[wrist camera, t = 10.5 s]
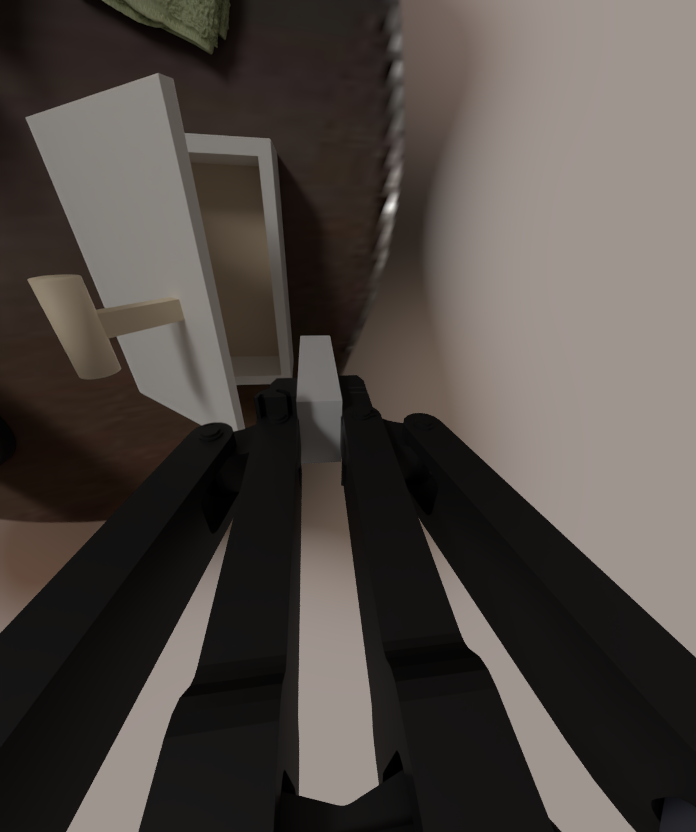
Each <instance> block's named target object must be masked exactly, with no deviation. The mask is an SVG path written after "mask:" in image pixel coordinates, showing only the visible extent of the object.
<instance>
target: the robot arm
mask: <svg viewBox="0 0 696 832" xmlns="http://www.w3.org/2000/svg"><path fill="white" fill-rule="evenodd" d="M254 402H255V408H256V414H257V423H256V425H254V426H252V427H249V428H246V429H242V430H238V431H234V432H233V429H232V427H231V426H230V425H228V424H226V423H222V422H213V423H208V424H204V425H202V426H200V427H197V428H196V429H194V430H193V431H192V432H191V433H190V434H189V435H188V436H187V437H186V438H185V439H184V440H183V441H182V442H181V443H180V444H179V445H178V446H177V447H176V448H175V449H174V451H173V452H172V453H171V454H170V455H169V456H168V457H167V458H166V459H165V460H164V461H163V462H162V463H161V464H160V465H159V466H158V467H157V468H156V470H155V471H154V472H153V473H152V474H151V475H150V476H149V477H148V478H147V479H146V480H145V481H144V482H143V483H142V484H141V485H140V486H139V487H138V489H137V490H136V491H135V492H134V493H133V494H132V495H131V496H130V497H129V498H128V499H127V500H126V501H125V502H124V503H123V504H122V505H121V506H120V507H119V509H118V510H117V511H116V512H115V513H114V514H113V515H112V516H111V517H110V518H109V519H108V520H107V521H106V522H105V524H103V525H102V527H101V528H100V529H99V530H98V531H97V532H96V533H95V534H94V535H93V536H92V537H91V538H90V539H89V540H88V541H87V542H86V543H85V545H83V547H82V548H81V549H80V550H79V551H78V552H77V553H76V554H75V555H74V556H73V557H72V558H71V559H70V560H69V561H68V562H67V563H66V564H65V566H64V567H63V568H62V569H61V570H60V571H59V572H58V573H57V574H56V575H55V576H54V577H53V578H52V579H51V580H50V581H49V583H48V584H47V585H46V586H45V587H44V588H43V589H42V590H41V591H40V592H39V593H38V594H37V595H36V596H35V597H34V598H33V599H32V600H31V601H30V602H29V603H28V605H27V606H26V607H25V608H24V609H23V610H22V611H21V612H20V613H19V614H18V615H17V616H16V617H15V618H14V620H13V621H11V623H10V624H9V625H8V626H7V627H6V628H5V629H4V630H3V631H2V632H1V633H0V832H66V831H67V829H68V827H69V825H70V824H71V822H72V820H73V818H74V816H75V814H76V812H77V810H78V809H79V807H80V805H81V803H82V801H83V799H84V797H85V795H86V793H87V792H88V790H89V788H90V786H91V784H92V782H93V780H94V778H95V776H96V775H97V773H98V771H99V769H100V767H101V765H102V763H103V762H104V760H105V758H106V756H107V754H108V752H109V750H110V748H111V746H112V745H113V743H114V741H115V739H116V737H117V735H118V733H119V731H120V730H121V728H122V726H123V724H124V722H125V720H126V718H127V716H128V715H129V713H130V711H131V709H132V707H133V705H134V703H135V701H136V699H137V697H138V695H139V694H140V692H141V690H142V688H143V686H144V684H145V683H146V681H147V679H148V677H149V675H150V673H151V671H152V670H153V668H154V666H155V664H156V662H157V660H158V658H159V656H160V654H161V653H162V651H163V649H164V647H165V645H166V643H167V641H168V639H169V638H170V636H171V634H172V632H173V630H174V628H175V626H176V624H177V623H178V621H179V619H180V617H181V615H182V613H183V611H184V609H185V608H186V606H187V604H188V602H189V600H190V598H191V596H192V594H193V593H194V591H195V589H196V587H197V585H198V583H199V581H200V579H201V577H202V576H203V574H204V572H205V570H206V568H207V566H208V564H209V562H210V561H211V559H212V557H213V555H214V553H215V551H216V549H217V547H218V546H219V544H220V542H221V540H222V538H223V536H224V534H225V532H226V530H227V529H228V527H229V525H230V523H231V521H232V519H233V522H232V527H231V530H230V535H229V539H228V543H227V547H226V552H225V555H224V560H223V564H222V568H221V572H220V576H219V580H218V584H217V588H216V592H215V597H214V601H213V605H212V609H211V613H210V617H209V622H208V625H207V630H206V634H205V638H204V642H203V646H202V650H201V655H200V659H199V663H198V667H197V670H196V673H195V677H194V679H193V681H192V683H191V686H190V687H189V688H188V689H187V690H186V691H185V692H184V694H183V695H182V696H181V697H180V698H179V701H178V703H177V705H176V707H175V709H174V711H173V713H172V716H171V719H170V722H169V725H168V728H167V731H166V734H165V737H164V740H163V744H162V748H161V751H160V755H159V759H158V762H157V766H156V770H155V773H154V777H153V781H152V785H151V788H150V792H149V795H148V799H147V803H146V807H145V810H144V814H143V817H142V821H141V825H140V828H139V832H561V831H560V830H559V829H558V827H557V826H556V825H555V824H554V823H553V822H552V821H551V820H550V819H549V818H548V815H547V812H546V810H545V808H544V805H543V802H542V800H541V797H540V795H539V792H538V790H537V787H536V785H535V782H534V780H533V777H532V775H531V772H530V770H529V767H528V765H527V762H526V760H525V757H524V755H523V752H522V750H521V747H520V745H519V742H518V740H517V737H516V735H515V732H514V730H513V727H512V725H511V722H510V720H509V718H508V715H507V712H506V710H505V707H504V705H503V702H502V700H501V698H500V695H499V692H498V690H497V687H496V685H495V683H494V681H493V679H492V677H491V675H490V672H489V670H488V669H487V667H486V665H485V664H484V662H483V661H482V660H481V658H480V657H479V656H478V655H477V654H475V653H474V652H473V651H471V650H470V649H469V648H468V647H467V645H466V644H465V642H464V640H463V638H462V636H461V633H460V631H459V628H458V625H457V622H456V620H455V617H454V614H453V611H452V609H451V606H450V604H449V601H448V598H447V595H446V592H445V590H444V587H443V584H442V581H441V579H440V576H439V573H438V570H437V568H436V565H435V562H434V560H433V557H432V554H431V551H430V548H429V546H428V543H427V540H426V537H425V535H424V532H423V529H422V527H421V524H420V521H421V522H422V524H423V525H424V527H425V528H426V530H427V531H428V532H429V534H430V535H431V537H432V538H433V540H434V542H435V543H436V545H437V546H438V548H439V549H440V551H441V552H442V554H443V555H444V557H445V558H446V559H447V561H448V563H449V564H450V566H451V567H452V569H453V570H454V572H455V573H456V575H457V576H458V578H459V579H460V581H461V582H462V584H463V585H464V587H465V588H466V590H467V591H468V593H469V594H470V596H471V598H472V599H473V600H474V602H475V604H476V605H477V607H478V608H479V610H480V611H481V613H482V614H483V616H484V617H485V619H486V620H487V622H488V623H489V625H490V626H491V628H492V629H493V631H494V632H495V634H496V635H497V637H498V638H499V640H500V641H501V643H502V644H503V646H504V647H505V649H506V650H507V652H508V653H509V655H510V657H511V658H512V660H513V661H514V663H515V664H516V665H517V667H518V668H519V670H520V672H521V673H522V675H523V676H524V678H525V679H526V681H527V682H528V684H529V685H530V687H531V688H532V690H533V691H534V693H535V694H536V696H537V697H538V699H539V700H540V702H541V703H542V705H543V706H544V708H545V709H546V711H547V712H548V714H549V715H550V717H551V718H552V720H553V721H554V723H555V724H556V726H557V727H558V729H559V730H560V732H561V734H562V735H563V736H564V738H565V740H566V741H567V742H568V744H569V745H570V747H571V748H572V750H573V751H574V752H575V754H576V755H577V756H578V758H579V759H580V761H581V762H582V764H583V765H584V767H585V768H586V769H587V771H588V772H589V774H590V775H591V776H592V778H593V779H594V781H595V782H596V783H597V784H598V786H599V787H600V788H601V789H602V790H603V792H604V793H605V794H606V796H607V797H608V798H609V799H610V801H611V802H612V803H613V804H614V806H615V807H616V808H617V809H618V811H619V812H620V813H621V814H622V816H623V817H624V818H625V819H626V821H627V822H628V823H629V824H630V825H631V826H632V827H633V828H634V830H635V831H636V832H696V658H695V656H693V655H692V654H691V653H690V652H689V651H688V650H687V649H686V648H685V647H684V646H683V645H682V644H680V643H679V642H678V641H677V640H676V639H675V638H674V637H673V636H672V635H671V634H670V633H669V632H667V631H666V630H665V629H664V628H663V627H662V626H661V625H660V624H659V623H658V622H657V621H656V620H655V619H654V618H652V617H651V616H650V615H649V614H648V613H647V612H646V611H645V610H644V609H643V608H642V607H641V606H640V605H638V604H637V603H636V602H635V601H634V600H633V599H632V598H631V597H630V596H629V595H628V594H627V593H625V592H624V591H623V590H622V589H621V588H620V587H619V586H618V585H617V584H616V583H615V582H614V581H613V580H611V579H610V578H609V577H608V576H607V575H606V574H605V573H604V572H603V571H602V570H601V569H600V568H598V567H597V566H596V565H595V564H594V563H593V562H592V561H591V560H590V559H589V558H588V557H586V555H585V554H583V553H582V552H581V551H580V550H579V549H578V548H577V547H576V546H575V545H574V544H572V542H570V541H569V540H568V539H567V538H566V537H565V536H564V535H563V534H562V533H561V532H560V531H559V530H558V529H556V528H555V527H554V526H553V525H552V524H551V523H550V522H549V521H548V520H547V519H546V518H545V517H544V516H542V515H541V514H540V513H539V512H538V511H537V510H536V509H535V508H534V507H533V506H532V505H530V503H528V502H527V501H526V500H525V499H524V498H523V497H522V496H521V495H520V494H519V493H518V492H517V491H515V490H514V489H513V488H512V487H511V486H510V485H509V484H508V483H507V482H506V481H505V480H504V479H503V478H501V477H500V476H499V475H498V474H497V473H496V472H495V471H494V470H493V469H492V468H491V467H490V466H488V465H487V464H486V463H485V462H484V461H483V460H482V459H481V458H480V457H479V456H478V455H477V454H475V453H474V452H473V451H472V450H471V449H470V448H469V447H468V446H467V445H466V444H465V443H464V442H463V441H462V440H461V439H459V438H458V437H457V436H456V435H455V434H454V433H453V432H452V431H451V430H450V429H449V428H448V427H446V426H445V425H444V424H443V423H442V422H441V421H440V420H439V419H437V418H435V417H434V416H431V415H428V414H423V413H415V414H411V415H408V416H407V417H406V418H404V423H397V422H392V421H387V420H385V419H382V417H381V414H380V413H379V411H378V410H376V409H375V408H373V407H372V404H371V401H370V398H369V395H368V393H367V390H366V388H365V384H364V381H363V380H362V379H361V378H360V377H358V376H357V375H351V376H350V375H349V376H338V375H337V370H336V365H335V359H334V354H333V349H332V344H331V338H330V336H300V349H299V366H298V378H276V379H275V380H274V381H273V382H272V383H271V384H270V388H268V389H265V390H262V391H260V392H259V393H257V394H256V395H255V397H254ZM14 451H15V439H14V436H13V434H12V432H11V431H10V429H9V428H8V426H7V425H6V424H5V423H4V422H3V421H2V420H1V419H0V466H1V465H2V464H3V463H4V462H5V461H7V460H8V459H9V458H10V457H11V456H12V455H13V453H14ZM341 457H342V481H341V485H342V486H344V493H345V500H346V508H347V516H348V523H349V531H350V539H351V547H352V554H353V562H354V570H355V578H356V585H357V593H358V600H359V608H360V616H361V624H362V632H363V639H364V646H365V655H366V662H367V669H368V678H369V685H370V694H371V702H372V720H373V736H374V746H375V756H376V764H377V771H378V780H379V785H378V786H377V787H376V788H374V789H372V790H371V791H369V792H368V793H366V794H365V795H363V796H361V797H360V798H358V799H357V800H355V801H354V802H352V803H350V804H348V805H345V806H339V805H334V804H330V803H326V802H322V801H318V800H314V799H310V798H306V797H302V796H299V730H298V677H299V676H298V675H299V619H300V616H299V615H300V557H301V555H300V554H301V499H302V498H301V497H302V469H301V464H305V463H322V462H339V461H341ZM233 517H234V518H233ZM419 519H420V521H419Z"/></svg>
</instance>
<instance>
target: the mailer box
mask: <svg viewBox="0 0 696 832" xmlns="http://www.w3.org/2000/svg"><path fill="white" fill-rule="evenodd" d="M184 134H185V139H186V144H187V149H188V153H189V158H190V163H191V168H192V173H193V178H194V183H195V187H196V192H197V197H198V202H199V207H200V212H201V217H202V221H203V226H204V231H205V236H206V241H207V246H208V251H209V256H210V260H211V265H212V270H213V275H214V280H215V285H216V290H217V294H218V299H219V304H220V309H221V314H222V319H223V324H224V328H225V333H226V338H227V343H228V348H229V353H230V358H231V362H232V367H233V372H234V377H235V382H236V385H254V384H271V383H272V382H273V381H274V380H275V379H276V378H292V374H293V363H294V359H293V346H292V334H291V321H290V308H289V296H288V283H287V271H286V258H285V246H284V233H283V220H282V208H281V195H280V183H279V170H278V158H277V152H276V150H275V148H274V146H273V144H272V142H271V139H268V138H252V137H236V136H221V135H205V134H189V133H184Z"/></svg>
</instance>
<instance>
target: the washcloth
mask: <svg viewBox="0 0 696 832" xmlns="http://www.w3.org/2000/svg"><path fill="white" fill-rule="evenodd" d="M102 1H103V2H105V3H107V4H108V5H110V6H111V7H113V8H114V9H116V10H118V11H120V12H122V13H123V14H124V15H126V16H128V17H130V18H132V19H133V20H135V21H137V22H139V23H143V24H145V25H148V26H151V27H155V28H162V29H164V30H166V31H168V32H170V33H172V34H174V35H176V36H178V37H180V38H182V39H184V40H186V41H188V42H190V43H192V44H194V45H196V46H198V47H199V48H201V49H202V50H204V51H206V52H207V53H209V54H213V50H214V46H215V47H217V48H218V46H217V44H218V36H220V37H221V38H223V39H224V40H226V36H227V30H228V29H229V24H228V22H229V7H230V6H231V5H230V3H229V0H102Z"/></svg>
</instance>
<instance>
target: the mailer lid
mask: <svg viewBox="0 0 696 832" xmlns="http://www.w3.org/2000/svg"><path fill="white" fill-rule="evenodd" d="M25 118H26V120H27V122H28V125H29V127H30V130H31V132H32V134H33V137H34V139H35V142H36V144H37V146H38V149H39V151H40V154H41V156H42V158H43V161H44V163H45V166H46V168H47V170H48V173H49V175H50V178H51V180H52V182H53V185H54V187H55V190H56V192H57V194H58V197H59V199H60V202H61V204H62V206H63V209H64V211H65V214H66V216H67V218H68V221H69V223H70V226H71V228H72V230H73V233H74V235H75V238H76V240H77V242H78V245H79V247H80V250H81V252H82V254H83V257H84V259H85V262H86V264H87V266H88V269H89V271H90V274H91V276H92V278H93V281H94V283H95V286H96V288H97V290H98V293H99V295H100V298H101V300H102V302H103V305H104V307H105V308H104V309H98V310H96V309H95V307H94V304H93V302H92V300H91V298H90V295H89V293H88V291H87V288H86V286H85V284H84V281H83V279H82V277H81V276H80V275H48V276H39V277H33V278H29V279H28V282H29V283H30V285H31V287H32V289H33V291H34V293H35V295H36V297H37V299H38V300H39V302H40V304H41V306H42V308H43V310H44V312H45V314H46V316H47V317H48V319H49V321H50V323H51V325H52V327H53V329H54V331H55V333H56V334H57V336H58V338H59V340H60V342H61V344H62V346H63V348H64V349H65V351H66V353H67V355H68V357H69V359H70V361H71V363H72V365H73V366H74V368H75V370H76V372H77V374H78V376H79V377H80V378H82V379H98V378H104V377H107V376H110V375H113V374H115V373H117V372H119V371H120V370H121V367H120V364H119V362H118V360H117V357H116V355H115V353H114V351H113V348H112V346H111V344H110V341H109V339H108V338H112V337H116V336H117V338H118V341H119V343H120V346H121V348H122V350H123V353H124V355H125V358H126V360H127V362H128V365H129V367H130V370H131V372H132V374H133V377H134V379H135V382H136V384H137V386H138V389H139V391H140V393H142V394H144V395H146V396H148V397H150V398H152V399H154V400H155V401H157V402H159V403H161V404H163V405H165V406H167V407H168V408H170V409H172V410H174V411H176V412H178V413H180V414H182V415H183V416H185V417H187V418H189V419H191V420H193V421H195V422H197V423H198V424H200V425H204V424H208V423H213V422H222V423H226V424H228V425H230V426H231V427H232V429H233V432H234V431H238V430H242V429H245V426H244V421H243V416H242V411H241V406H240V401H239V396H238V392H237V387H236V382H235V377H234V372H233V367H232V362H231V358H230V353H229V348H228V343H227V338H226V333H225V328H224V324H223V319H222V314H221V309H220V304H219V299H218V294H217V290H216V285H215V280H214V275H213V270H212V265H211V260H210V256H209V251H208V246H207V241H206V236H205V231H204V226H203V221H202V217H201V212H200V207H199V202H198V197H197V192H196V187H195V183H194V178H193V173H192V168H191V163H190V158H189V153H188V149H187V144H186V139H185V134H184V129H183V124H182V119H181V115H180V110H179V105H178V100H177V95H176V90H175V85H174V81H173V79H172V78H170V77H167V76H164V75H162V74H159V73H157V74H154V75H151V76H148V77H145V78H142V79H139V80H136V81H133V82H130V83H127V84H124V85H121V86H118V87H115V88H112V89H109V90H106V91H103V92H100V93H97V94H94V95H91V96H88V97H85V98H82V99H79V100H76V101H73V102H70V103H67V104H64V105H61V106H58V107H55V108H52V109H49V110H46V111H43V112H40V113H37V114H34V115H31V116H28V117H25Z"/></svg>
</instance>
